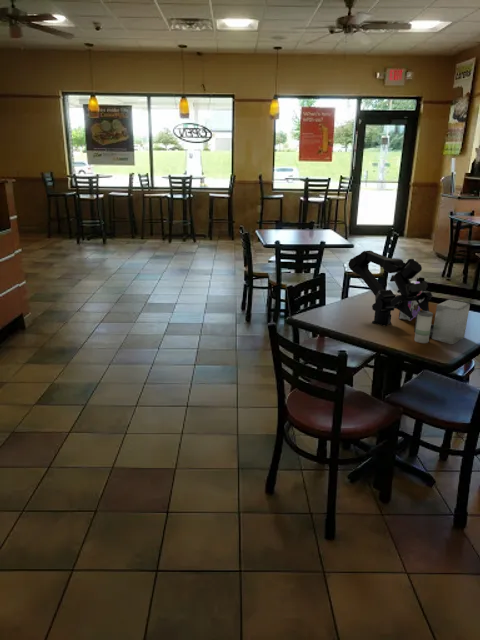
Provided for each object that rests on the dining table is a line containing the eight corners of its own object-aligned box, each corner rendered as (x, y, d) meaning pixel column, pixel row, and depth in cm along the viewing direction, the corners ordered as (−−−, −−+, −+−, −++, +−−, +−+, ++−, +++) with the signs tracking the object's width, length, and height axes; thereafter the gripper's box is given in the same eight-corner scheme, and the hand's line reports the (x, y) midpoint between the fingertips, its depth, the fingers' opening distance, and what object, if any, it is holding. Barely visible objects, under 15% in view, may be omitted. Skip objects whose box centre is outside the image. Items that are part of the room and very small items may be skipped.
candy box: (410, 321, 223) (415, 287, 218) (398, 319, 227) (402, 285, 221) (419, 314, 234) (424, 281, 228) (407, 312, 237) (412, 279, 232)
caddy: (431, 338, 202) (437, 304, 197) (444, 332, 210) (449, 299, 205) (452, 344, 196) (458, 309, 191) (464, 337, 204) (470, 303, 199)
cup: (411, 340, 199) (415, 312, 195) (417, 337, 203) (421, 309, 199) (425, 344, 195) (429, 316, 191) (431, 340, 199) (435, 313, 195)
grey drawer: (411, 331, 209) (414, 314, 206) (422, 326, 215) (424, 309, 213) (433, 337, 202) (436, 319, 200) (443, 332, 209) (446, 314, 206)
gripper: (398, 276, 194) (415, 309, 188) (432, 272, 201) (449, 304, 195) (383, 290, 203) (398, 323, 197) (416, 286, 211) (432, 317, 205)
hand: (420, 316), depth 198 cm, fingers open, 9 cm apart
